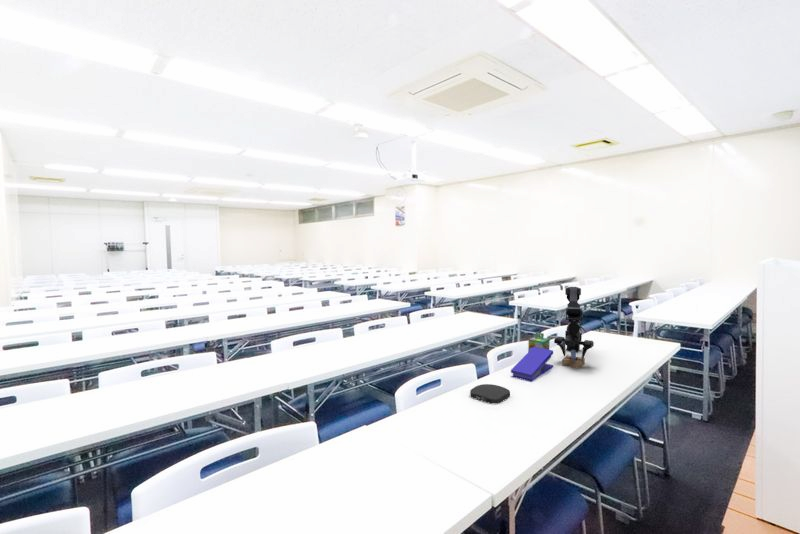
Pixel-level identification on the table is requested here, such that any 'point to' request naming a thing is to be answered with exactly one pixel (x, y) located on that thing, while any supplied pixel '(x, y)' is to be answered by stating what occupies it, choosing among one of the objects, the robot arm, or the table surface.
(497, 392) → the media streaming box
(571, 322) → the robot arm
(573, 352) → the peg
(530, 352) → the purple foot pedal
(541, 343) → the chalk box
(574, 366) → the socket
